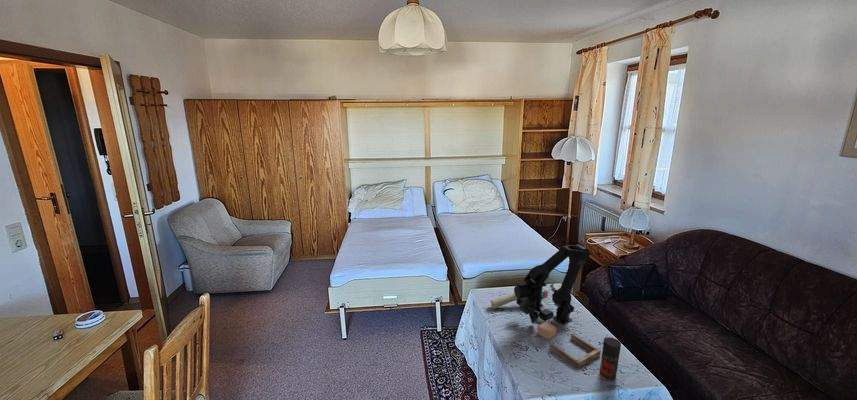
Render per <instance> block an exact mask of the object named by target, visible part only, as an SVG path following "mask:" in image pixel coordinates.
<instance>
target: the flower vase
mask: <svg viewBox="0 0 857 400" xmlns="http://www.w3.org/2000/svg"><path fill="white" fill-rule="evenodd" d="M550 288H551V289H550ZM554 290H556V288H555V286H554V283H550V285H549V289H548V290H546V289H543V290H542V296H543V300H545V299H547V298H548V297H551V296H552V295H553V294H554ZM549 292H553V293H551V294H549ZM517 299H518V298H517V297H516V296H515V293H514V292H513V294H509V295H506V296H505V295H504V296H502V297H498V298H495V299H490V304H491V307H492V308H493V310H495V309H498V308H499V307H502V306H504V305H507V304H509V303H512V302H515V301H516V302H517Z"/></svg>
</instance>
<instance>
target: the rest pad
mask: <svg viewBox="0 0 857 400" xmlns="http://www.w3.org/2000/svg"><path fill="white" fill-rule="evenodd" d="M544 322H547V321H544V320H542V319H541V318H540V317H538V319H537V320H536V322H535V323H534V324H537V325H540V324H542V323H544Z"/></svg>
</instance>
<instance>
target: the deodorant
mask: <svg viewBox="0 0 857 400" xmlns="http://www.w3.org/2000/svg"><path fill="white" fill-rule="evenodd" d="M621 346H622V343H621V341H620V340H618V339H617V338H614V337H611V336H610V337H609V336H608V337H605V338H604V339H603V346H602V350H601V359H600V365H599V366H600V367H599V376H601V377H602V378H603V379H605V380H608V381H615V380H616V379H615V378H617V373H618V367H619V366H618V365H619V361H620V353H621Z"/></svg>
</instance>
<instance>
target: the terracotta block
mask: <svg viewBox="0 0 857 400" xmlns="http://www.w3.org/2000/svg"><path fill="white" fill-rule="evenodd" d="M536 330H537V331H536V332H537V334H538V335H539V336H542V337H543V338H545V339H546V340H550V339H551V338H553V337H555V336H557V327H556V326H555V325H552V324H551V323H549V322H547V321H546V322H544V323H542V324H538V325H537V329H536Z"/></svg>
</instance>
